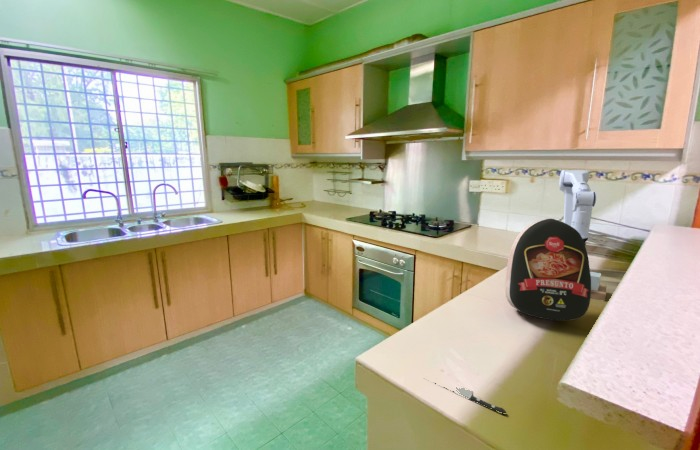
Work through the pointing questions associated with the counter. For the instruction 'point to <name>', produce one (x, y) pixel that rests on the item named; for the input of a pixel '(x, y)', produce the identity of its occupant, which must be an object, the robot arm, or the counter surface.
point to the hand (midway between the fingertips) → (575, 256)
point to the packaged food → (549, 272)
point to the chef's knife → (469, 395)
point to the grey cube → (595, 280)
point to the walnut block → (599, 293)
